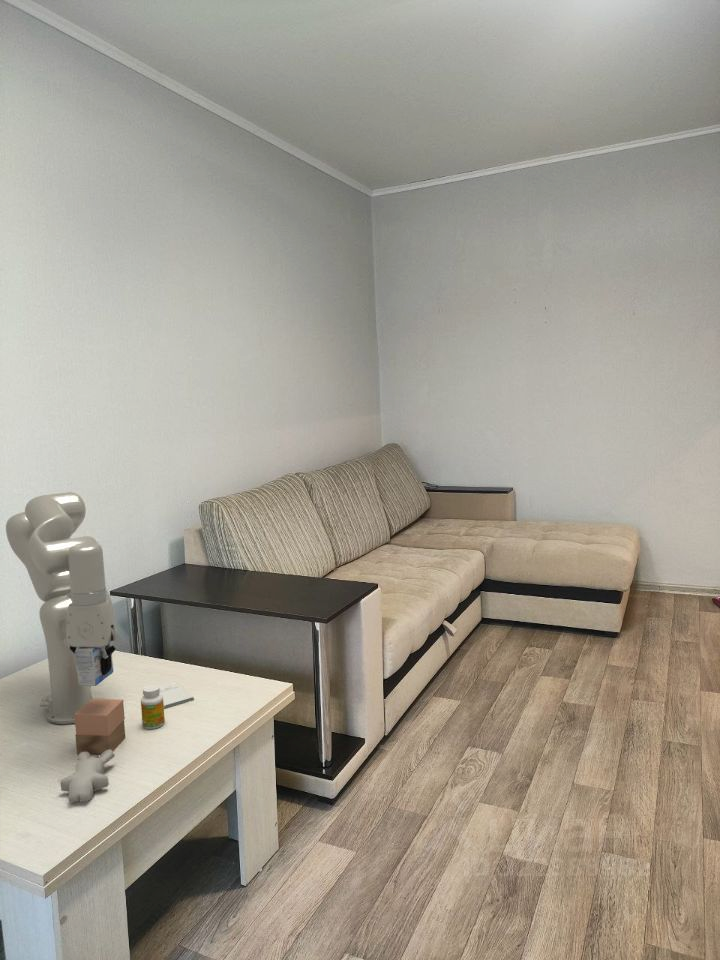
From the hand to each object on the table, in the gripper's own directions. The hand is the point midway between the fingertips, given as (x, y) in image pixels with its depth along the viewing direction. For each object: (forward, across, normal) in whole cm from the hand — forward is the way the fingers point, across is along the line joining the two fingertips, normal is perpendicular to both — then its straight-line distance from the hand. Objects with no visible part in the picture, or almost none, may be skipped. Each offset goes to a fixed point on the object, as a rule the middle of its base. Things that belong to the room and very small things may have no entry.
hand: (95, 671), depth 162 cm
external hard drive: (+19, +6, +27) cm, 33 cm away
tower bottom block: (+19, 0, 0) cm, 19 cm away
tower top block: (+14, 0, 0) cm, 14 cm away
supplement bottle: (+19, +8, +11) cm, 23 cm away
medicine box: (+2, 0, 0) cm, 2 cm away
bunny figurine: (+19, +5, -15) cm, 25 cm away
